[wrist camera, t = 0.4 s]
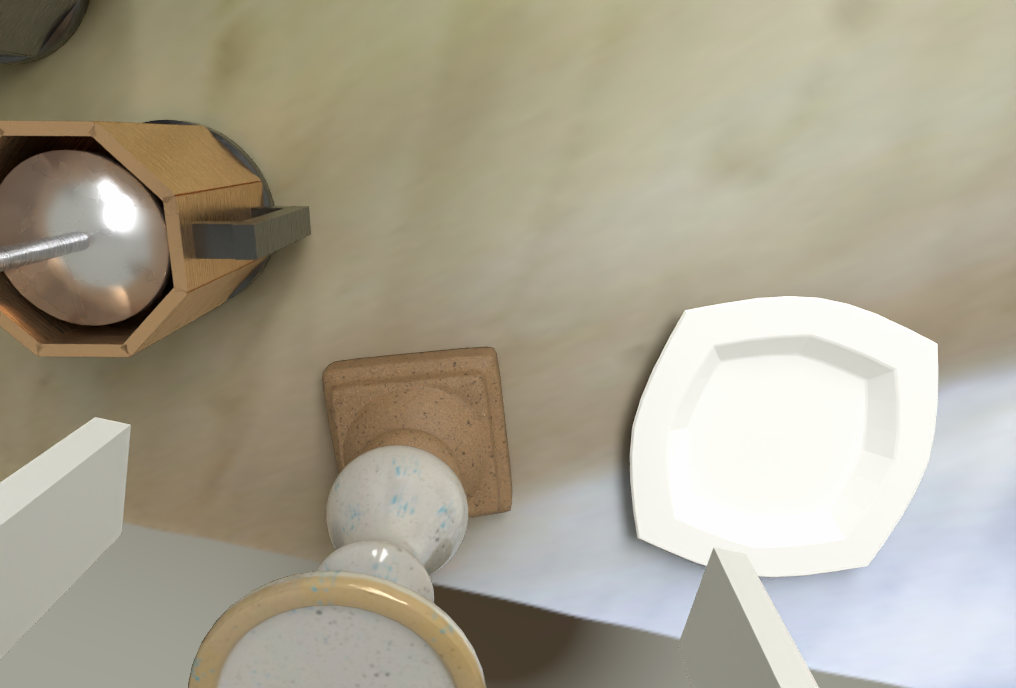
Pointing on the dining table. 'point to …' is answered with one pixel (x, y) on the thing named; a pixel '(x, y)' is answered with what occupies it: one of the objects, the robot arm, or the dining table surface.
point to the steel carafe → (36, 27)
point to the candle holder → (380, 535)
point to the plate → (783, 434)
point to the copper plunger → (83, 237)
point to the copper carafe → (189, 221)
